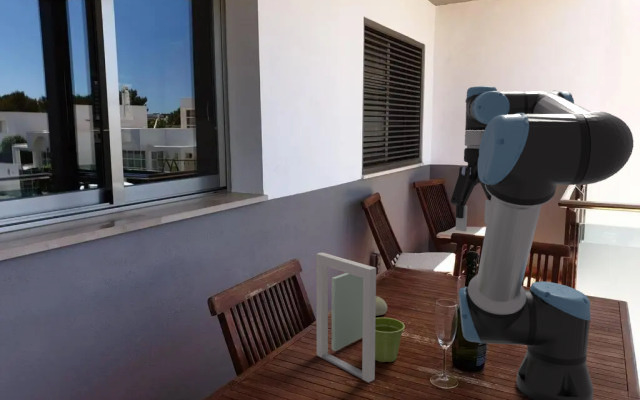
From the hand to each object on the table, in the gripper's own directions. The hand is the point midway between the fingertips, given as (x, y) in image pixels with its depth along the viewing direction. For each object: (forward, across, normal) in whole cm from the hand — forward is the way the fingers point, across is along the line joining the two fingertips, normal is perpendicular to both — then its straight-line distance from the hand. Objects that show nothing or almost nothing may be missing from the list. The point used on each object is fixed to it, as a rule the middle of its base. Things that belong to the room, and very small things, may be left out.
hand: (475, 227), depth 134 cm
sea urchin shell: (+31, +8, -30) cm, 43 cm away
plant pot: (+31, +28, -7) cm, 42 cm away
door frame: (+31, +39, -10) cm, 50 cm away
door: (+30, +30, -18) cm, 46 cm away
